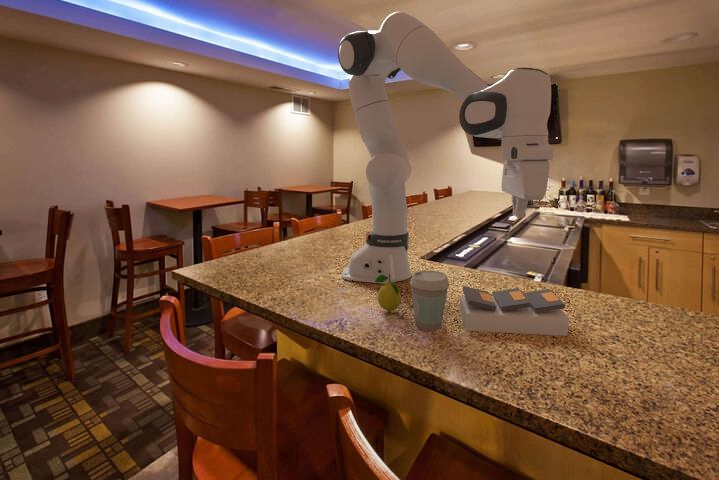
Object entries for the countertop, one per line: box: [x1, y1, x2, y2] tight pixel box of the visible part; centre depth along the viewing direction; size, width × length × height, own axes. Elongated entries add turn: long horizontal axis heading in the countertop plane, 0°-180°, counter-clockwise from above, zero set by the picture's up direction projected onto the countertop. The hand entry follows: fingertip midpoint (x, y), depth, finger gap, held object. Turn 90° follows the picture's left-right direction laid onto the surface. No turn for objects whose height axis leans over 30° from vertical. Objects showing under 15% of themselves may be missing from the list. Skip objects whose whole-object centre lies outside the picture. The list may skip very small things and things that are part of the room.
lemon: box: [375, 274, 403, 313], centre depth 90 cm, size 7×6×10 cm
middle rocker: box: [492, 287, 531, 311], centre depth 84 cm, size 6×9×1 cm, turn 170°
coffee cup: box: [409, 270, 450, 332], centre depth 82 cm, size 8×8×12 cm
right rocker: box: [522, 288, 566, 312], centre depth 83 cm, size 6×9×1 cm, turn 170°
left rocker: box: [462, 285, 497, 311], centre depth 85 cm, size 6×9×1 cm, turn 174°
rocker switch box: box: [458, 294, 570, 337], centre depth 84 cm, size 21×11×4 cm, turn 82°
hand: (518, 216), depth 80 cm, fingers closed
